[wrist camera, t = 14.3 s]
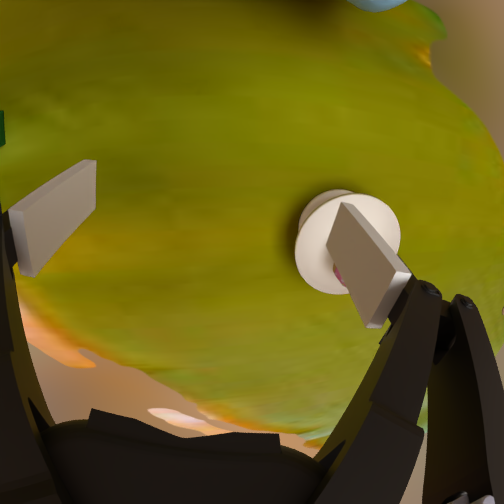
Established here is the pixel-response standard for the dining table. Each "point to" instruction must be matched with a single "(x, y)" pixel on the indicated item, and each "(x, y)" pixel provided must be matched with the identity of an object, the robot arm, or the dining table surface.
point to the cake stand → (319, 227)
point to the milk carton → (2, 129)
